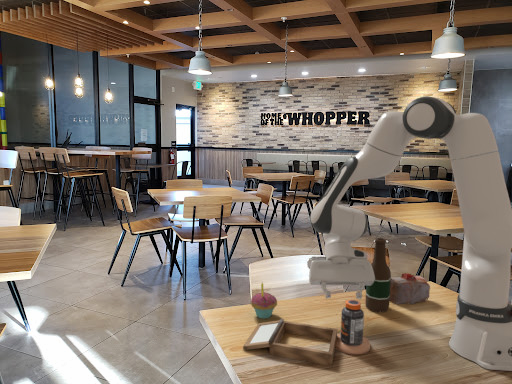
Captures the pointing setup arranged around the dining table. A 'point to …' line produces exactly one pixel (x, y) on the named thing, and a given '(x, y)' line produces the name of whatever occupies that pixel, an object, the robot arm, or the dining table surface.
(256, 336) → the lid
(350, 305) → the pill bottle
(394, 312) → the dining table surface
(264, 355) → the dining table surface
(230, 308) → the dining table surface
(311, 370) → the dining table surface
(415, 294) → the food item
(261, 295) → the cupcake
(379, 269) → the beer bottle
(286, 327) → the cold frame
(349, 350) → the pink round plate
